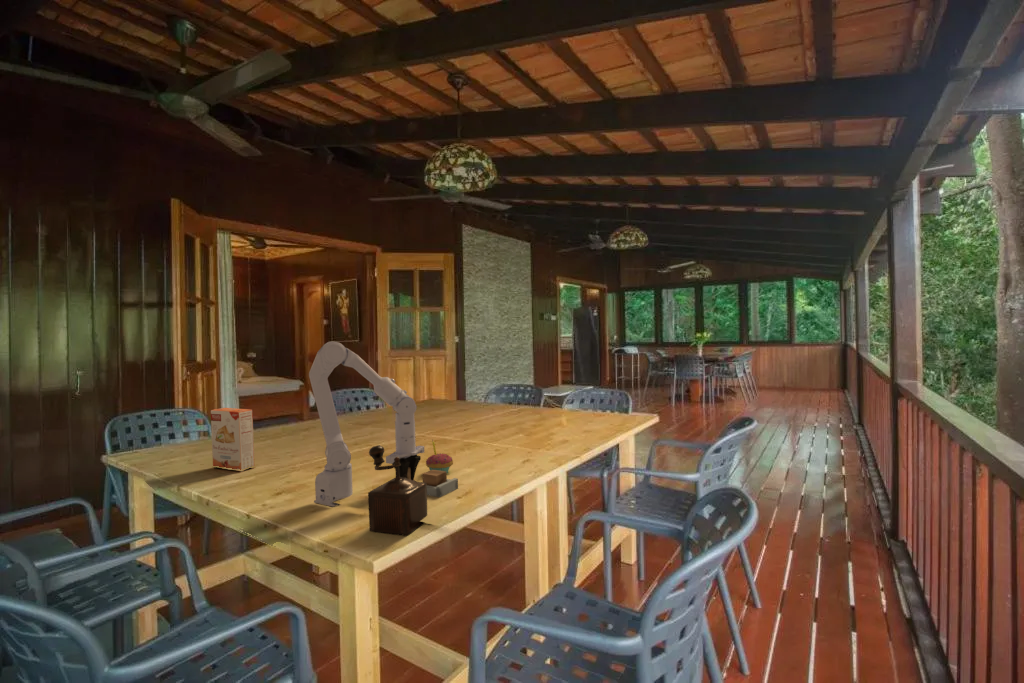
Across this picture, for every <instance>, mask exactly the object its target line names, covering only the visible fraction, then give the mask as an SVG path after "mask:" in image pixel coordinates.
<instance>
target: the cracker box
mask: <svg viewBox="0 0 1024 683" xmlns="http://www.w3.org/2000/svg"><path fill="white" fill-rule="evenodd" d="M253 416H254V414H253V409H247V408H234V407H222V408H215V409H211V410H210V425H211V426H210V427H211V449H212V453H211V454H212V467H213V466H219V467H226V468H232V469H240V470H241V469H245V468H248V467H252V466H255V446H254V442H255V440H254V421H253V419H254V418H253Z"/></svg>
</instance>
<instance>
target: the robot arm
mask: <svg viewBox="0 0 1024 683" xmlns="http://www.w3.org/2000/svg"><path fill="white" fill-rule="evenodd" d="M340 364H341V365H342V366H343V367H348V368H352V369H353V370H355V371H356V372H358V374H360V375H361V376H362V377H363V378H365V379H366V380H367V381H368V382H370V383H371V384H372V385H373V393H375V394H376V395H377V396H378V397H379V398H380V399H381V400H383V401H384V403H386V404H387V405H388V406H389V407H392V410H393V411H395V413H394V414H395V416H394V417H395V421H394V430H395V431H394V432H395V434H394V435H395V436H394V437H395V451H394V452H392V453H390V454H388V455H387V456H385V463H386V464H390V465H394V463H395V461H394V459H395V458H396V457H399V459H400V460H399V463H400V466H399V475H400V477H403V475H404V474H406V475H407V473H408V467H410V468H411V480H415V476H416V472H417V468H418V466H419V463H420V461H421V456H420V455H418V454H424V453H425V446H424V445H417V446H416V444H417V443H416V420H415V413H416V411H417V408H418V405H416V404H417V403H416V401H415V400H414V398H412V397H410V396H409V394H407V393H408V391H407V390H405V389H402V388H401V387H400V386H398V384H396V380H395V379H394V378H390V377H389V376H383V377H382V376H380V375H379V374H378V373H377V371H375V370H374V369H373V368H372V367H371V366H370V365H369V364H368V363H366V361H365V360H364V359H363V358H361V357H360V355H359V354H357V353H355V352H354V351H352V350H351V349H349V348H347V347H345V345H344V344H342V343H340V342H339V341H332V340H331V341H328V342H326V343H324V344H323V345H322V346H321V348H320V349H319V350H318V351H317V353H316V355H315V358H314V360H313V363H312V365H311V367H310V369H309V372H308V377H309V380H310V384H311V385H310V386H311V389H312V393H313V397H314V402H315V404H316V408H317V414H318V417H319V420H320V425H321V429H322V431H323V435H324V439H325V444H326V447H325V451H324V455H325V457H326V464H325V465H324V469H323V470H322V471H321V472H319V473H318V474H317V475H316V477H315V479H314V481H315V482H314V486H315V487H314V488H315V500H313V503H315V504H319V505H324V506H329V507H332V508H333V507H337V506H339V505H340V503H338V502H335V501H339V500H342V499H345V498H349V497H351V496H352V495H353V468H352V467H353V465H352V463H351V460H352V454H351V452H350V450H349V446H348V445H347V443H346V442H344V438H343V434H342V430H341V427H340V424H339V422H340V421H339V418H338V415H337V411H336V407H335V403H334V399H333V395H332V391H331V387H330V383H329V379H328V378H329V377H330V375H331V373H333V371H334V369H335V368H337V367H338V366H339V365H340ZM393 469H395V467H394V468H393ZM406 478H407V477H406Z"/></svg>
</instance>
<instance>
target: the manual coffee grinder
mask: <svg viewBox="0 0 1024 683" xmlns="http://www.w3.org/2000/svg"><path fill="white" fill-rule="evenodd" d="M368 451H369V452H368V454H369V456H370V457H371V458H372V459H373V461H374V462H373V465H374V470H375V471H384V470H392V469H394V471H395V477H394V478H392V479H390V480H388V481H387V482H383V483H382V484H381V485H378V486H376V487H375V488H373V489H372V490H370V491H368V493H367V499H368V500H367V501H368V521H369V522H368V524H369V528H368V530H369V532H372V533H377V534H378V533H379V534H384V535H385V534H386V535H391V536H392V535H394V536H404V537H405V536H406V537H407V536H409V535H410V534H412V533H414V532H415V531H416V530H418V529H419V528H420V527H421V526H423V525H424V524H425V522H424V521H422V520H423V519H425V518H426V517H427V516H428V495H427V483H424V482H423V481H422V482H421V481H416V480H415V479H414V480H410V479H407V478H406V477H407V475H406V474H404V475H403V477H400V475H399V466H400V463H399V460H400V459H399V457H396V458H395V459H394V461H395V463H394V465H392V464H390V465H382V464H383V463H386V460H384V458H383V457H384V454H385V448H384V446H382V445H379V444H378V445H374V446H372V447H371V448H369V450H368ZM394 467H395V468H394Z"/></svg>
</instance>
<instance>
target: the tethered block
mask: <svg viewBox="0 0 1024 683" xmlns="http://www.w3.org/2000/svg"><path fill="white" fill-rule="evenodd" d="M447 474H448V473H446V472H445V471H439V470H430V469H429V470H428V471H426V472H423V473H422V482H424V483H427V485H429V486H434V487H436V486H438V485H440V484H442V483H445V482H447V479H448V475H447ZM407 479H410V480H411V468H410V467H408V473H407Z"/></svg>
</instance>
